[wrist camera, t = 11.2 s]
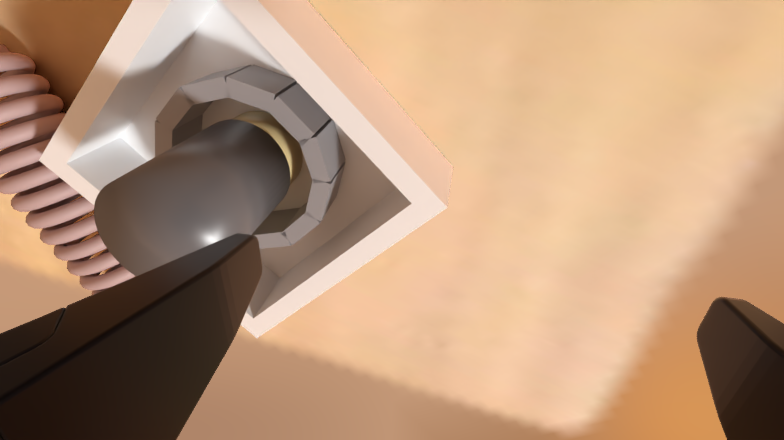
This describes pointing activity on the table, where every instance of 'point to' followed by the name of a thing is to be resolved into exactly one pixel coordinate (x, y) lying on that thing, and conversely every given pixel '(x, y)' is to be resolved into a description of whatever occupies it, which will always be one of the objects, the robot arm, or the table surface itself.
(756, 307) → the robot arm
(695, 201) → the table surface
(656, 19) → the table surface
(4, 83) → the coil
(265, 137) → the plug
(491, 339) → the table surface
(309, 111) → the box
